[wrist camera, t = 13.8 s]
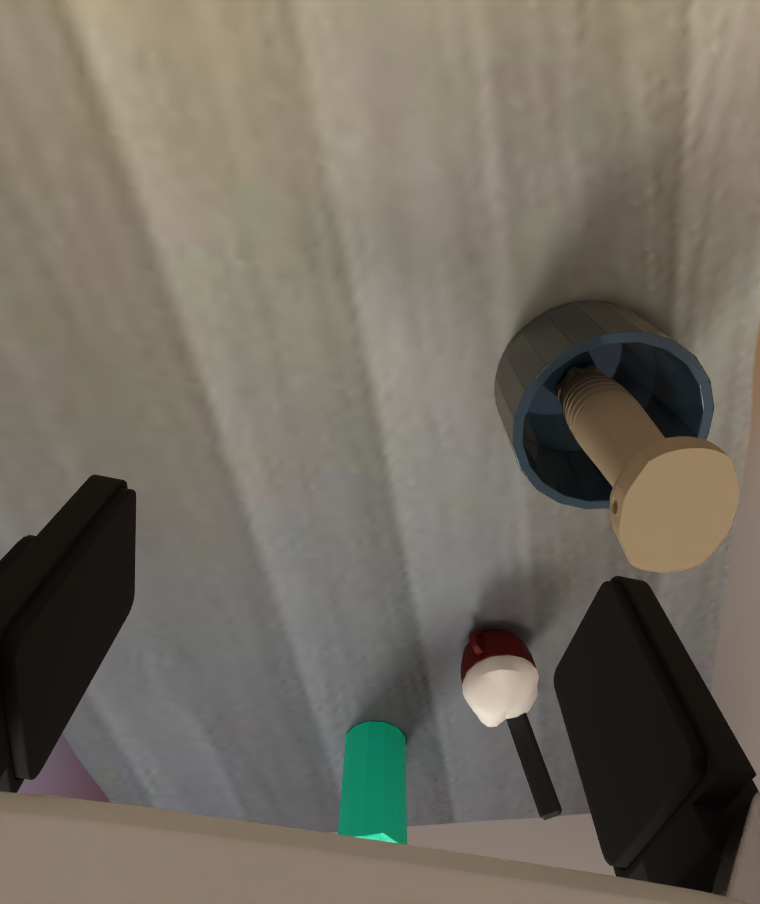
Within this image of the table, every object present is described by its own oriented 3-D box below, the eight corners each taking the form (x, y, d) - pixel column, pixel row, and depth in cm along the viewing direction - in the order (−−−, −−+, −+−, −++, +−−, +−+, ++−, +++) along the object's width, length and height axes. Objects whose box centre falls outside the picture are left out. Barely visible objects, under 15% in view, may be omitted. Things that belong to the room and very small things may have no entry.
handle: (622, 336, 36) (753, 445, 23) (610, 427, 39) (720, 570, 26) (545, 341, 36) (630, 451, 23) (539, 431, 39) (612, 574, 26)
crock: (529, 280, 35) (558, 308, 29) (692, 325, 36) (753, 360, 30) (472, 434, 40) (486, 486, 34) (617, 469, 41) (655, 525, 35)
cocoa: (452, 613, 48) (468, 743, 38) (527, 605, 48) (565, 735, 37) (463, 689, 53) (480, 825, 42) (532, 682, 52) (567, 819, 41)
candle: (418, 743, 56) (423, 880, 46) (373, 767, 58) (368, 904, 48) (377, 712, 54) (373, 848, 44) (332, 738, 56) (317, 874, 46)
